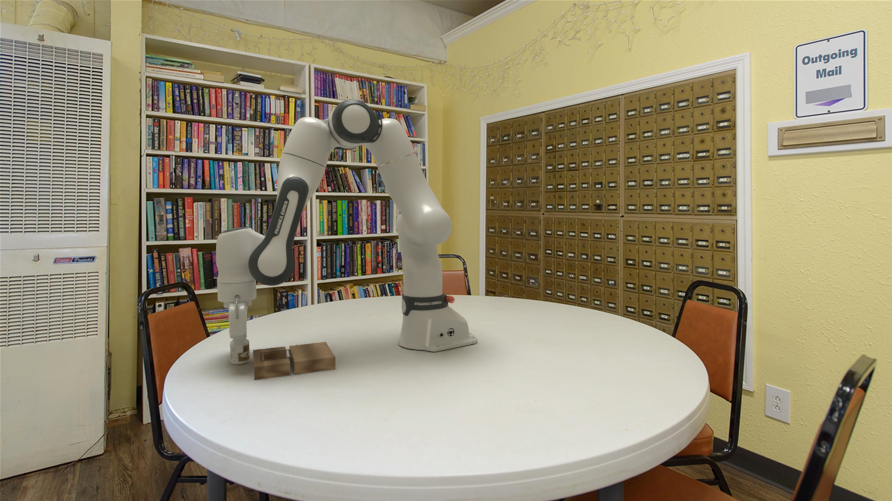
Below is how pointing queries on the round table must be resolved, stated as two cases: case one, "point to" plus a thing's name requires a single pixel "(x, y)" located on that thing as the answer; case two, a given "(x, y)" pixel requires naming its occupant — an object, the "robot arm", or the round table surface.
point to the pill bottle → (240, 357)
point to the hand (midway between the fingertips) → (239, 347)
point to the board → (292, 360)
